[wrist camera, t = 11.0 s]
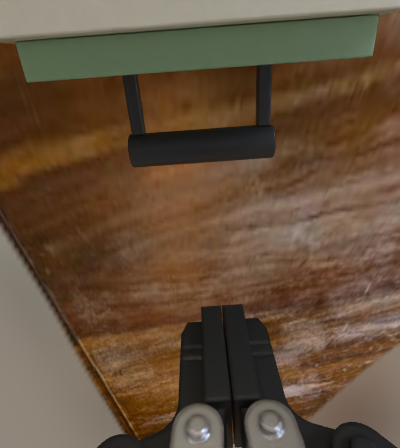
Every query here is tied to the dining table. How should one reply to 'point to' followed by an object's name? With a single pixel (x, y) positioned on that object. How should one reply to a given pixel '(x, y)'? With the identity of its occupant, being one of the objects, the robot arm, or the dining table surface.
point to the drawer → (197, 60)
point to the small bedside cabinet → (163, 15)
